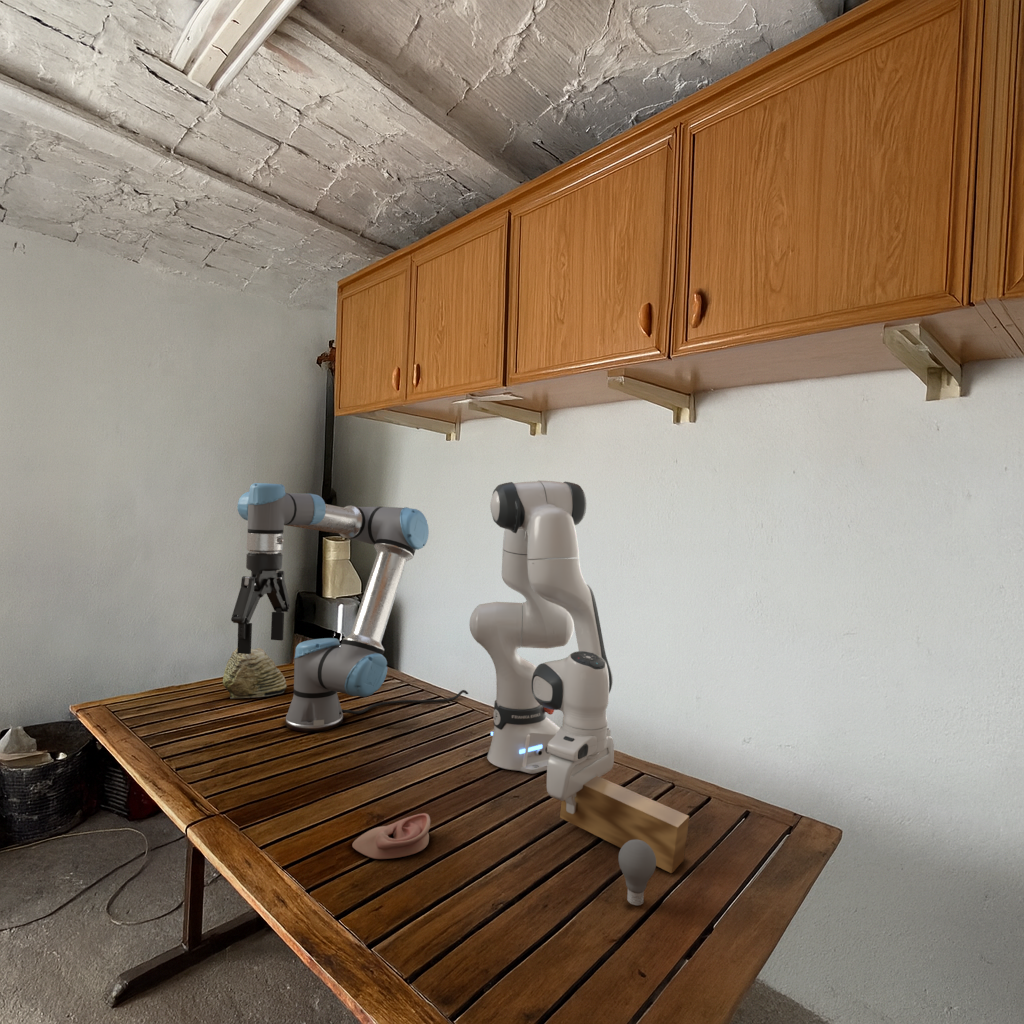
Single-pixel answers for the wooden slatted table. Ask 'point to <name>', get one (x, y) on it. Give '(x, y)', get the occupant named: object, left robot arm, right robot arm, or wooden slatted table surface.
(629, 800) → the bar
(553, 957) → the wooden slatted table surface
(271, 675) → the fossil
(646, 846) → the light bulb
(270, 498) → the left robot arm
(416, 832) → the anatomical model
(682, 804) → the wooden slatted table surface
